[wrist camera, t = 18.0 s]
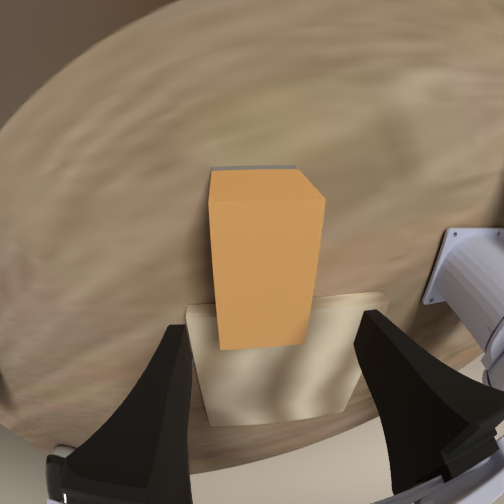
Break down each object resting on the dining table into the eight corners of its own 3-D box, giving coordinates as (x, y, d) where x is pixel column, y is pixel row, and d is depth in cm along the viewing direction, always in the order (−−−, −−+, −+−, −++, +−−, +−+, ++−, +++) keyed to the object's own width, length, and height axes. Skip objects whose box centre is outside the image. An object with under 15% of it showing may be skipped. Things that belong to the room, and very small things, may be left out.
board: (382, 290, 24) (389, 301, 22) (339, 402, 33) (342, 411, 31) (187, 304, 22) (185, 318, 21) (209, 416, 31) (210, 426, 30)
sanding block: (294, 165, 18) (325, 199, 13) (286, 284, 22) (304, 343, 17) (212, 166, 17) (208, 202, 12) (218, 288, 22) (220, 350, 17)
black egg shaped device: (88, 446, 37) (78, 519, 24) (105, 464, 42) (99, 527, 29) (42, 433, 36) (27, 501, 23) (62, 454, 41) (53, 513, 28)
